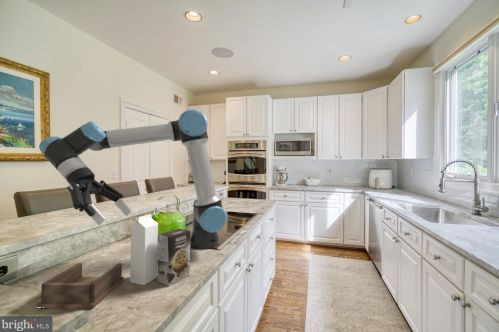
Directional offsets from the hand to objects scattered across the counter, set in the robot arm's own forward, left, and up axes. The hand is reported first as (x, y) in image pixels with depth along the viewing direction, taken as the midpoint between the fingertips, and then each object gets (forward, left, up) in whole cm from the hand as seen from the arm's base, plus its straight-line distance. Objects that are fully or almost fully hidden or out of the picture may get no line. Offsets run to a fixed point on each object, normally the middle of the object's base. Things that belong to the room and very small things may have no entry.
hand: (116, 217), depth 75 cm
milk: (-10, +1, -21) cm, 24 cm away
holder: (+4, +9, -21) cm, 23 cm away
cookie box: (-20, 0, -21) cm, 29 cm away
